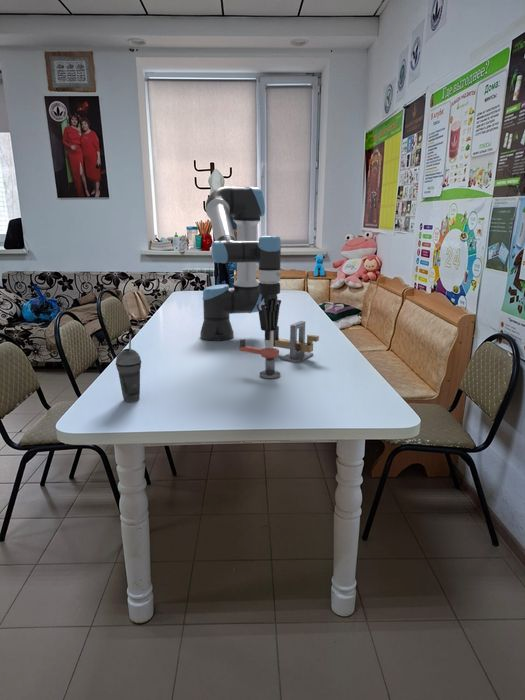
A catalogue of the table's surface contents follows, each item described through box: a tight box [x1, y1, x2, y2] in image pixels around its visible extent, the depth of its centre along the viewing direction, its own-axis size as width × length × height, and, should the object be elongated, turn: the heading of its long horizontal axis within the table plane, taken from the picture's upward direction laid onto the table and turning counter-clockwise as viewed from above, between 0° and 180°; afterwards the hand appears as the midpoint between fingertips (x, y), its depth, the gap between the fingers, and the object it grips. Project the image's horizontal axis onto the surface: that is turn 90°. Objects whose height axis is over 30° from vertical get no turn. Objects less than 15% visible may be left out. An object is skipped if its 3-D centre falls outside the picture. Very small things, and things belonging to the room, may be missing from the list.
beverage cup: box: [115, 334, 142, 403], centre depth 130 cm, size 7×7×20 cm
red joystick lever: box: [238, 338, 280, 359], centre depth 153 cm, size 15×6×4 cm, turn 58°
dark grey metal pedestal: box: [259, 358, 281, 380], centre depth 153 cm, size 7×7×7 cm
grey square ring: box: [280, 320, 314, 364], centre depth 172 cm, size 8×12×14 cm, turn 148°
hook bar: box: [273, 325, 320, 353], centre depth 173 cm, size 21×4×8 cm, turn 58°
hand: (269, 348), depth 160 cm, fingers closed
